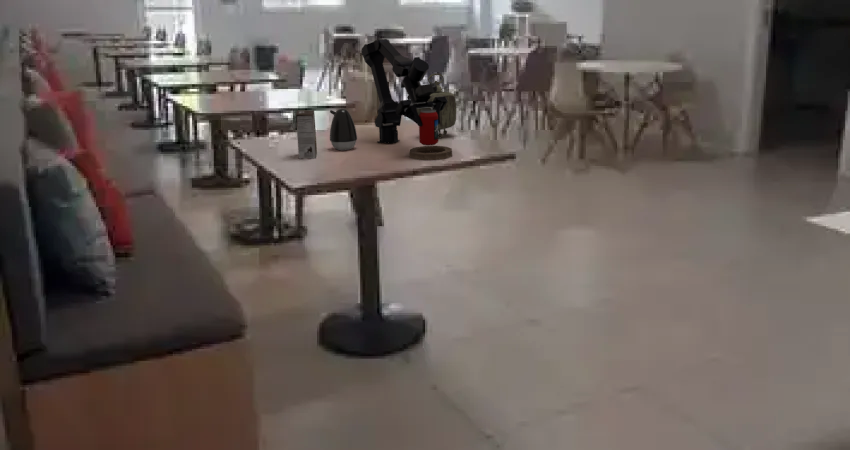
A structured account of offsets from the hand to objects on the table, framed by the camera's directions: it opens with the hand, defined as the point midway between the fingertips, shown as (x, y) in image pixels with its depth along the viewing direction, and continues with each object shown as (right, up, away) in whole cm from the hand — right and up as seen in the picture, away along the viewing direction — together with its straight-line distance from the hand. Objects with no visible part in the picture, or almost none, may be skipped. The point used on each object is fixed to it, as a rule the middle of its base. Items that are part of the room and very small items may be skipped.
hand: (430, 124), depth 289 cm
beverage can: (-1, -7, +3) cm, 7 cm away
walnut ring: (0, -10, +5) cm, 11 cm away
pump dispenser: (-32, -7, +20) cm, 39 cm away
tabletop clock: (+3, 0, +38) cm, 38 cm away
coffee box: (-44, -10, +9) cm, 46 cm away
